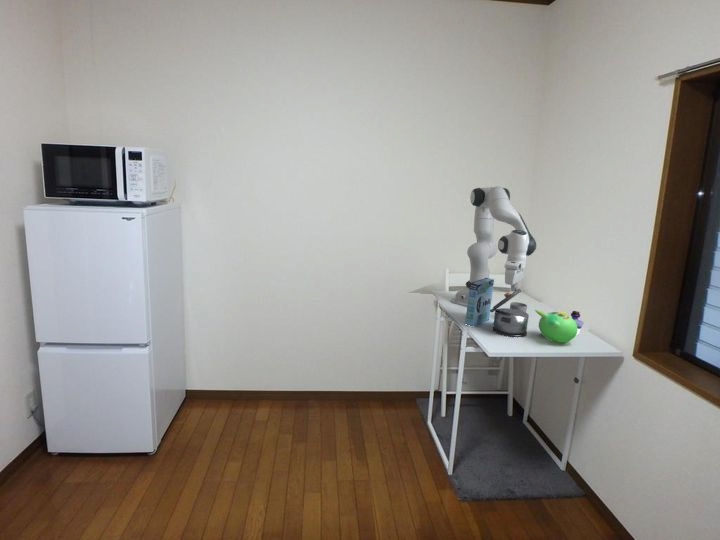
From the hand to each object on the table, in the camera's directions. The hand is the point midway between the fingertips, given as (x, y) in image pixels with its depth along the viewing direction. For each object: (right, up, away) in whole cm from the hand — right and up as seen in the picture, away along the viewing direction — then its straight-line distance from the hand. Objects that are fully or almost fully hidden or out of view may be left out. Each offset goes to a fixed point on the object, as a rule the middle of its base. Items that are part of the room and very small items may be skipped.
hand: (513, 291), depth 219 cm
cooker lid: (-2, -6, +3) cm, 7 cm away
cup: (+9, -18, +22) cm, 30 cm away
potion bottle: (+33, -23, +7) cm, 40 cm away
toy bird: (+18, -24, -5) cm, 31 cm away
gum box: (-13, -18, +17) cm, 28 cm away
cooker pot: (-1, -21, +4) cm, 21 cm away
